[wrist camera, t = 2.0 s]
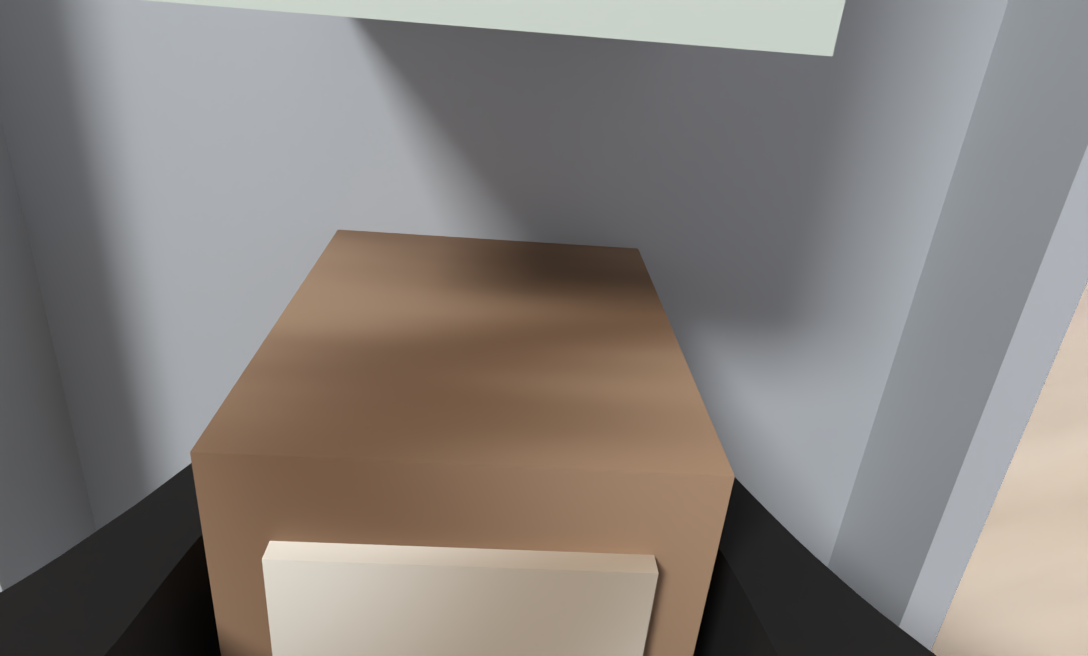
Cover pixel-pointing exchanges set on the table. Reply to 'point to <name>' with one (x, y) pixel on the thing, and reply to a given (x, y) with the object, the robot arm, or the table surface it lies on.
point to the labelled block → (463, 460)
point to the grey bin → (557, 237)
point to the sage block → (605, 18)
